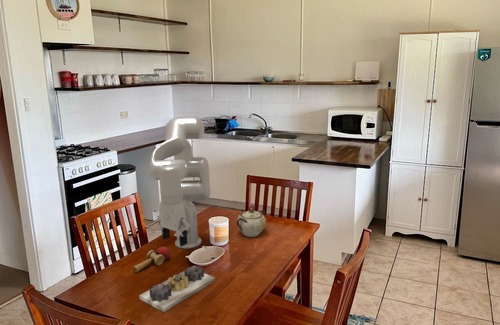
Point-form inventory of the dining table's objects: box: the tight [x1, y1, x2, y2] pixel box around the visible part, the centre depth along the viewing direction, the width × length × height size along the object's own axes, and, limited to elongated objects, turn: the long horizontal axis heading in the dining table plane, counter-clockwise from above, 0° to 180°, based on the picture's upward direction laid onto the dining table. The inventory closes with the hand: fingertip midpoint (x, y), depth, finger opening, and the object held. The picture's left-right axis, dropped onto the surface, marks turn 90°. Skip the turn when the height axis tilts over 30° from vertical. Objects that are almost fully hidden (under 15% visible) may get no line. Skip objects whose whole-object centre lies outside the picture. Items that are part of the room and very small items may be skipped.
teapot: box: [236, 205, 267, 238], centre depth 201 cm, size 20×15×15 cm
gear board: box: [138, 265, 216, 313], centre depth 152 cm, size 14×26×6 cm, turn 141°
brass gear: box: [167, 274, 188, 291], centre depth 152 cm, size 7×7×3 cm
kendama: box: [132, 246, 171, 274], centre depth 173 cm, size 8×6×18 cm
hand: (175, 241), depth 149 cm, fingers open, 9 cm apart
